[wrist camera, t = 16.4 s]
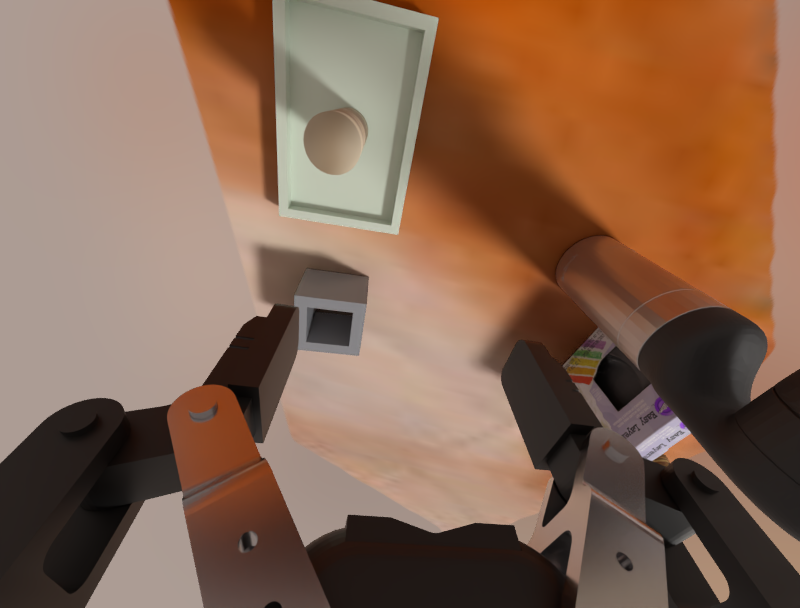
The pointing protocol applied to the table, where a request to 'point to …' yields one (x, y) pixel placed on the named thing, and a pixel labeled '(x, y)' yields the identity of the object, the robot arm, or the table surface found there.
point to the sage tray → (349, 104)
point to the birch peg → (335, 140)
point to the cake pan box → (623, 397)
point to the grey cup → (327, 327)
